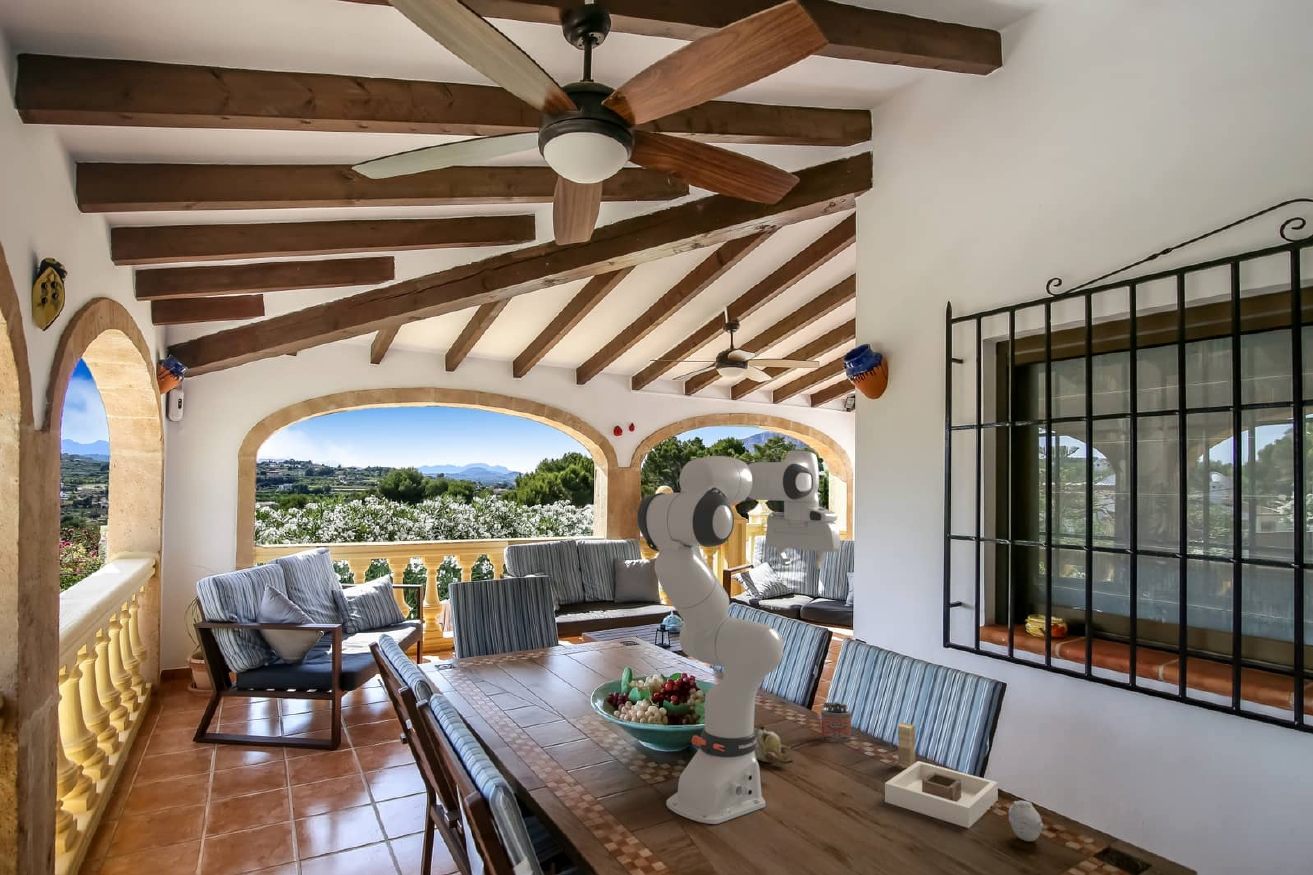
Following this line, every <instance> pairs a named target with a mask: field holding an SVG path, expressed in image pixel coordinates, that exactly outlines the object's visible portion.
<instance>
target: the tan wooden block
mask: <svg viewBox="0 0 1313 875" xmlns="http://www.w3.org/2000/svg"><path fill="white" fill-rule="evenodd" d="M897 726H898V727H897V729H898V730H897V735H898V736H897V738H898V739H897V748H898V750H897V754H898V756H897V758H898V759H897V761H898V765H897V766H901V767H904V768H908V767H910V766H911V765H913V764H914V763H916V725H914V724H911V723H906V722H902V723H900V724H898V725H897ZM901 767H900V768H901ZM904 768H903V769H904Z"/></svg>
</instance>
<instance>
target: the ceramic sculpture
mask: <svg viewBox="0 0 1313 875" xmlns="http://www.w3.org/2000/svg"><path fill="white" fill-rule="evenodd" d="M754 730H755V731H756V749H755V750H754V751H755V756H756V759H757V761H758V760H759V761H761V762H766V763H772V764H774V765H776V766H777V765H778V766H779V765H780V766H781V765H787V764H792V763H793V762H794V760H793V759H791V758H789V757H788V756H787V755H786V754H787V753H789V752H791V751H793V750H794V749H795V747H794V746H786V745H784V744H782V740H781V738H780V736H779V734H778V733H776V732H774V731H771V730H766V727H765V726H764V725H762V726H758V727H754Z"/></svg>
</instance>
